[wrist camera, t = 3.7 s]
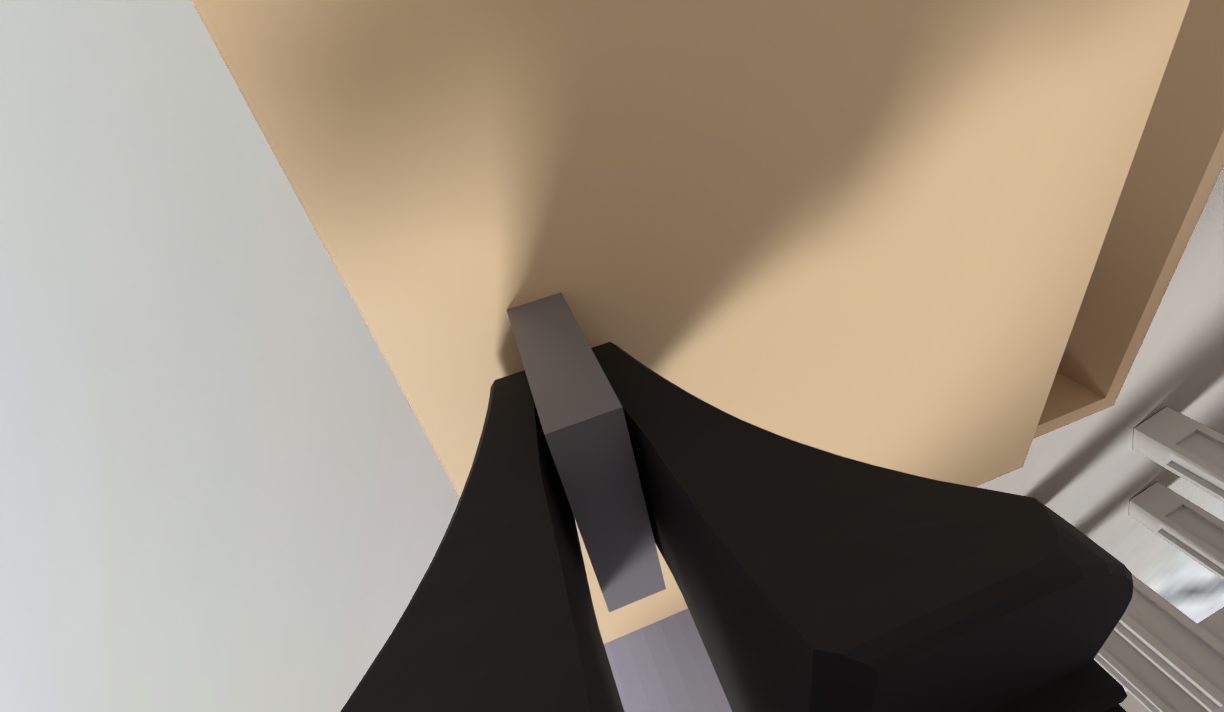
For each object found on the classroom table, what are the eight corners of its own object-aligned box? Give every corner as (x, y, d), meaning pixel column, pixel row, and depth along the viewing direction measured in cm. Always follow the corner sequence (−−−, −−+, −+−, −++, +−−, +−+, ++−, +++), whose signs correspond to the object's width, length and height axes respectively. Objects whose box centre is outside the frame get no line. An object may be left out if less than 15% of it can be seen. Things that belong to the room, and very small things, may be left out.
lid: (1006, 454, 18) (1140, 551, 15) (546, 646, 16) (580, 813, 12) (1297, -437, 8) (1985, -807, 4) (70, -260, 5) (-536, -768, 2)
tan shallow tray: (988, 338, 23) (1113, 405, 18) (642, 469, 20) (697, 577, 16) (1148, -288, 12) (1501, -445, 8) (495, -166, 10) (543, -300, 6)
